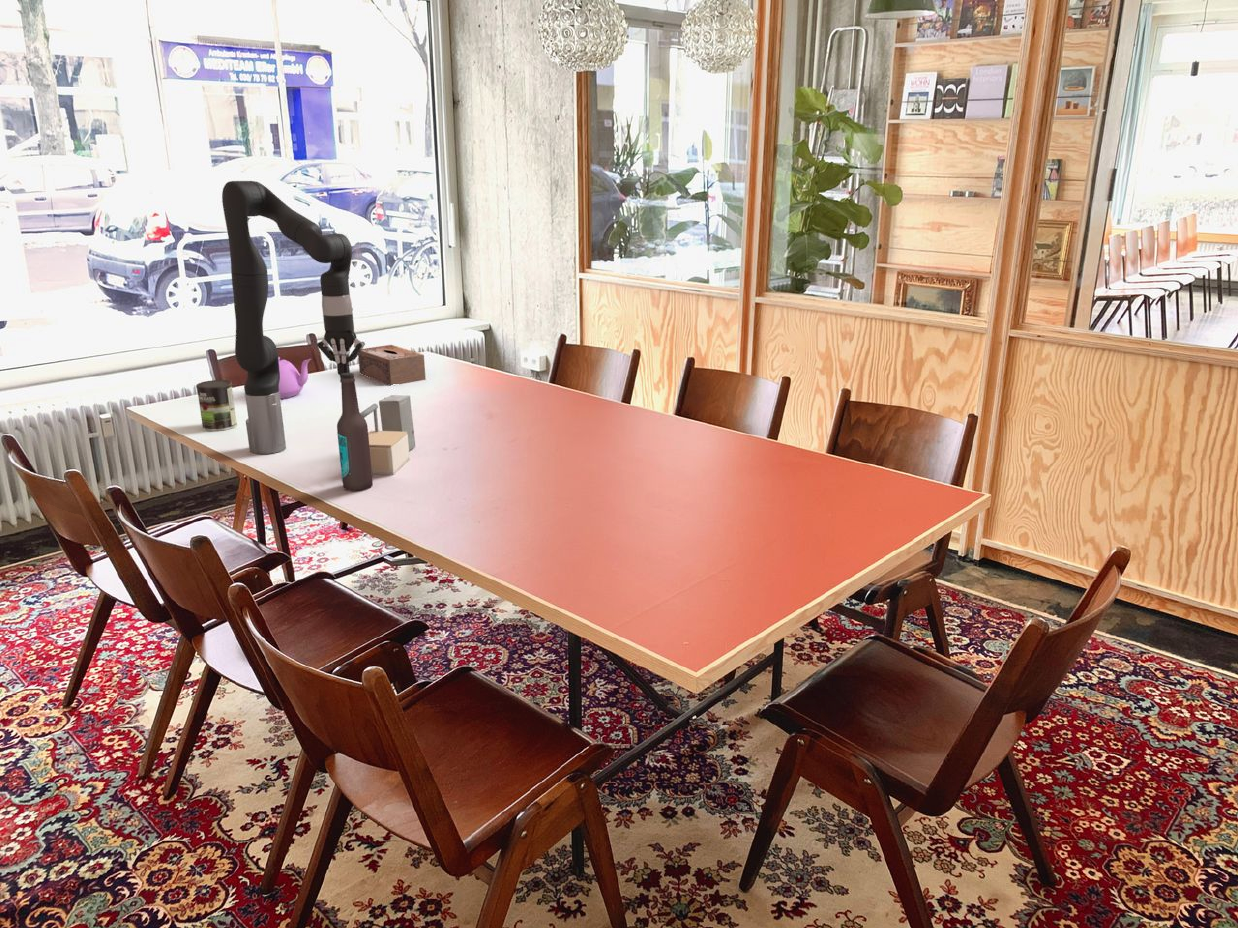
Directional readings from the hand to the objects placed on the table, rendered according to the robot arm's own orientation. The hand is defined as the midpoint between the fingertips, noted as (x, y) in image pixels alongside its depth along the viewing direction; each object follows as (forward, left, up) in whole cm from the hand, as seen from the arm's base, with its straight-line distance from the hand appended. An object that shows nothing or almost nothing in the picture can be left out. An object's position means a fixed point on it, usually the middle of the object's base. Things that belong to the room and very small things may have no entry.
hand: (344, 376), depth 250 cm
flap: (+9, 0, -17) cm, 19 cm away
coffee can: (-57, +32, -26) cm, 70 cm away
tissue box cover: (-27, +105, -26) cm, 111 cm away
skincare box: (+8, +15, -25) cm, 31 cm away
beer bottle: (+8, -17, -25) cm, 31 cm away
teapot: (-55, +73, -26) cm, 95 cm away
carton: (+8, 0, -25) cm, 27 cm away
